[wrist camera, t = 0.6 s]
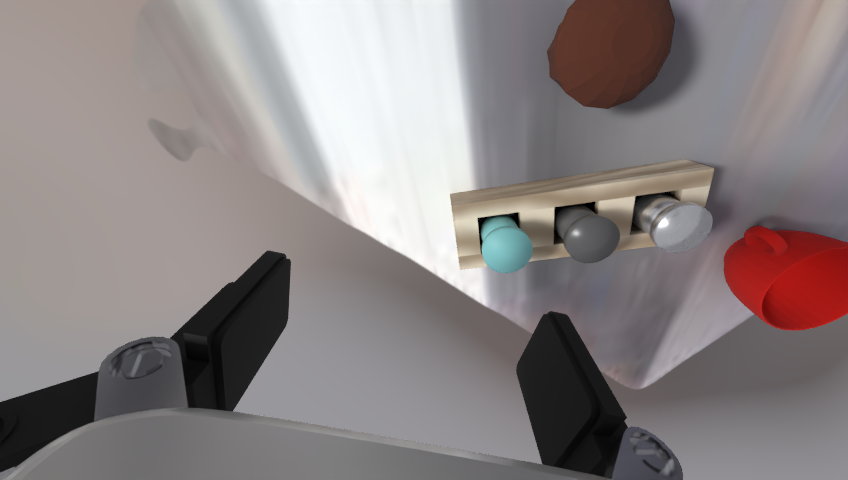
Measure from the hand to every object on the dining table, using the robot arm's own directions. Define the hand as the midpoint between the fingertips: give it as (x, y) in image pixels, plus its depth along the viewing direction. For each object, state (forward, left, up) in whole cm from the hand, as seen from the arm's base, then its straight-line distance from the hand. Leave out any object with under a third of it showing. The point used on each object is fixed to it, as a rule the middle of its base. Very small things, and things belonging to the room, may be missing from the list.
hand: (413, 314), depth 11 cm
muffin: (-8, +20, -35) cm, 41 cm away
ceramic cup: (+22, +45, -35) cm, 61 cm away
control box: (+12, +18, -35) cm, 41 cm away
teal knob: (+12, +8, -32) cm, 35 cm away
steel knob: (+12, +28, -32) cm, 44 cm away
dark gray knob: (+12, +18, -32) cm, 38 cm away
